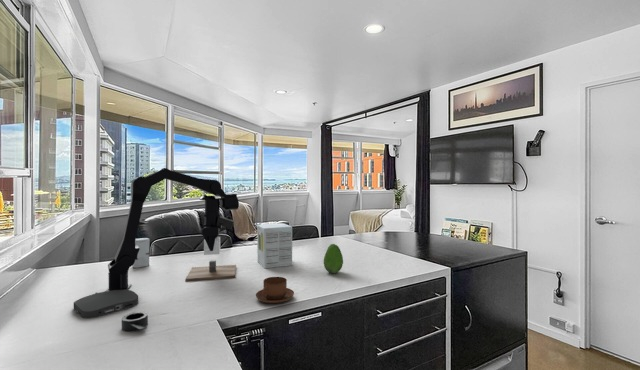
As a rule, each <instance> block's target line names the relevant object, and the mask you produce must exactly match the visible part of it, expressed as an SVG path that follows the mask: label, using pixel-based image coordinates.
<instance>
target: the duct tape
mask: <svg viewBox="0 0 640 370" xmlns="http://www.w3.org/2000/svg"><path fill="white" fill-rule="evenodd" d="M148 325H149V315H148V312H145V311H134V312H131V313H128V314H126V315H123V316H122V318H121V331H123V332H125V333H129V332H130V333H131V332H136V331H137V332H138V331H140V330H143V329H147V326H148Z"/></svg>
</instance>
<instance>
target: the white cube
mask: <svg viewBox="0 0 640 370" xmlns="http://www.w3.org/2000/svg"><path fill="white" fill-rule="evenodd" d="M220 253H221V236H217V237H216V238H215V243H214V248H213V251H210V250H209V247H208V245H207V243H206V241H205V239H204V238H203V256H207V255H208V256H210V255H220Z"/></svg>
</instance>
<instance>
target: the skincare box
mask: <svg viewBox="0 0 640 370" xmlns="http://www.w3.org/2000/svg"><path fill="white" fill-rule="evenodd" d="M150 241H151V240H150V238H148V237H142V238H141V237H140V238H136V240H135V246H138V247H139V248H140V250H139V252H138V255H137V259H138V260H136V259H135V263H134V264H133V265H132V266H131V267H132V268H134V269H137V268H143V267H149V266H150V243H151V242H150Z"/></svg>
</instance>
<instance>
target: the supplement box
mask: <svg viewBox="0 0 640 370" xmlns="http://www.w3.org/2000/svg"><path fill="white" fill-rule="evenodd" d="M256 225H257V227H256V230H257V232H256V235H257V236H256V237H257V238H256V239H257V249H256V250H257V251H256V253H257V257H256V258H257V263H258V264H260V265H261V267H262V268H264V269H271V268H278V267H289V266H292V265H293V226H291V225H289V224H286V223H283V222H282V223H281V222H279V223H263V224H256Z"/></svg>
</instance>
